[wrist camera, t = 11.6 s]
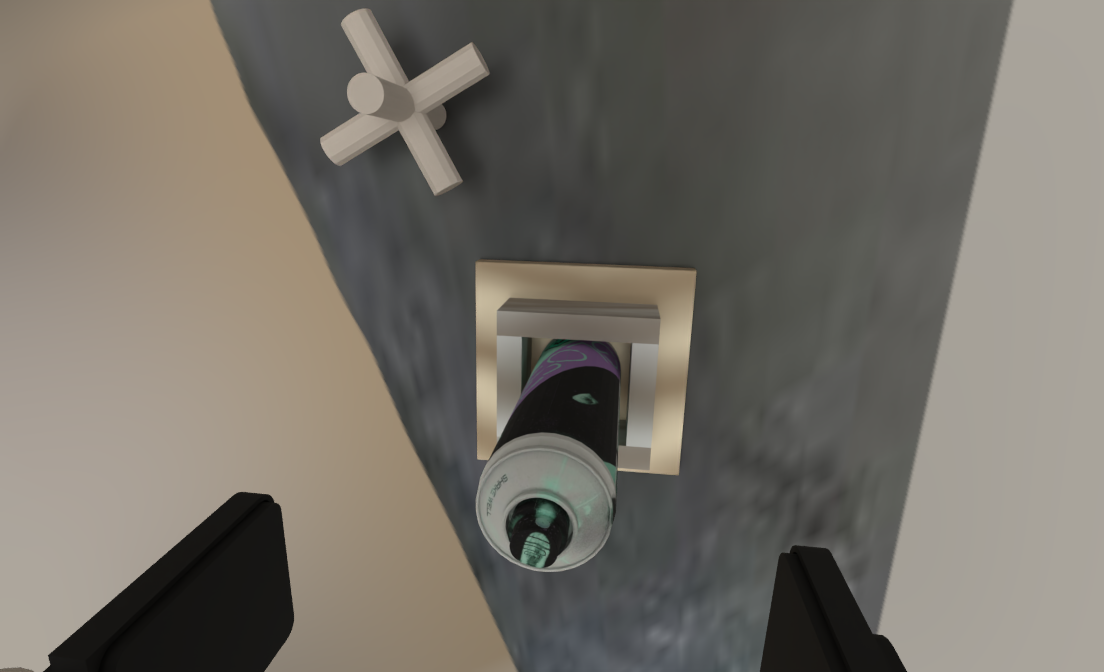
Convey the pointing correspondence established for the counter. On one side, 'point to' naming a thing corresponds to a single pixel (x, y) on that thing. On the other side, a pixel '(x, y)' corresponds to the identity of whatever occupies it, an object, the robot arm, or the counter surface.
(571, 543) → the spray can
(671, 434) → the collar block
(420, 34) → the counter surface
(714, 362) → the counter surface
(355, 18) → the pipe connector
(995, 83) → the counter surface
